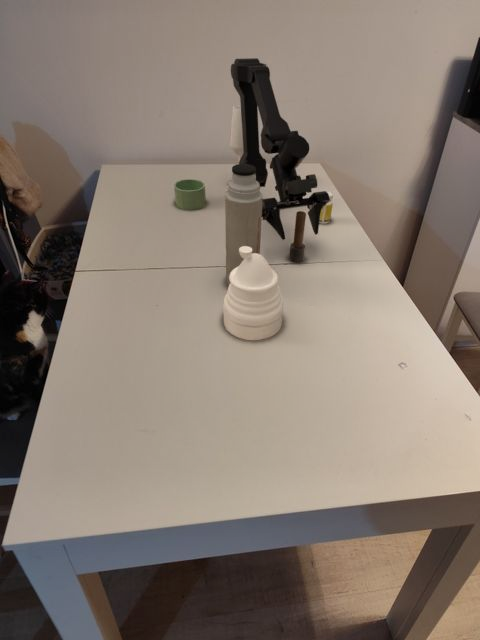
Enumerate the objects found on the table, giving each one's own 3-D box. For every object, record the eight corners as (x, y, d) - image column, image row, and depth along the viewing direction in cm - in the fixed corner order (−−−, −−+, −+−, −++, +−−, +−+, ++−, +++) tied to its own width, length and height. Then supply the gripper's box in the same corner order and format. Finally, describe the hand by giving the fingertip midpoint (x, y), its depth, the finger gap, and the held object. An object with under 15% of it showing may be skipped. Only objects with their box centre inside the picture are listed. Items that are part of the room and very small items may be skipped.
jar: (181, 195, 145) (180, 177, 141) (209, 199, 144) (208, 181, 140) (171, 207, 138) (169, 188, 134) (200, 211, 137) (199, 192, 133)
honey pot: (230, 344, 92) (230, 269, 80) (218, 307, 101) (216, 235, 89) (289, 335, 95) (297, 262, 83) (272, 300, 104) (277, 230, 92)
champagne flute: (228, 181, 156) (227, 105, 140) (246, 179, 158) (247, 104, 142) (233, 188, 151) (232, 111, 135) (252, 187, 153) (253, 110, 137)
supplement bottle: (329, 217, 138) (334, 191, 132) (330, 224, 134) (334, 197, 129) (314, 216, 138) (317, 189, 133) (314, 223, 135) (317, 196, 129)
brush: (290, 254, 120) (294, 208, 112) (304, 256, 120) (310, 210, 111) (287, 261, 117) (291, 215, 109) (302, 264, 117) (308, 217, 108)
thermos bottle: (261, 276, 112) (267, 162, 93) (254, 294, 106) (259, 176, 87) (230, 272, 113) (230, 158, 94) (222, 289, 107) (220, 171, 88)
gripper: (261, 166, 103) (277, 231, 103) (332, 158, 108) (347, 220, 108) (248, 186, 113) (263, 246, 113) (313, 179, 119) (327, 235, 119)
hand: (300, 236), depth 113 cm, fingers open, 9 cm apart
